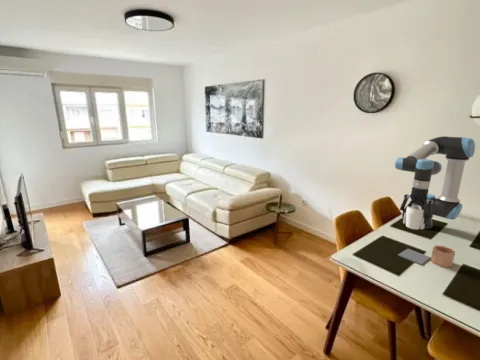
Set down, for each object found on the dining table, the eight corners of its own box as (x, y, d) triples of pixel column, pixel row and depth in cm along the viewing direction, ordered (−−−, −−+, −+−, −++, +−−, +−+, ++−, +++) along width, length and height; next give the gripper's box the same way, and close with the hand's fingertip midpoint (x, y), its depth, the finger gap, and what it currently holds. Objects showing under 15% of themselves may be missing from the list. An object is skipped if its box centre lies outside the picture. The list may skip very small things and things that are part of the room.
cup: (425, 231, 143) (429, 210, 140) (406, 229, 145) (410, 209, 142) (418, 224, 152) (422, 205, 149) (401, 223, 154) (404, 204, 151)
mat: (407, 249, 156) (407, 248, 156) (430, 258, 147) (430, 257, 146) (397, 255, 150) (398, 254, 149) (421, 265, 140) (421, 264, 140)
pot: (435, 256, 149) (437, 244, 147) (453, 263, 142) (457, 250, 140) (428, 261, 144) (431, 248, 142) (447, 269, 137) (450, 255, 135)
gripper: (396, 184, 150) (390, 220, 155) (440, 193, 132) (431, 234, 138) (403, 182, 154) (397, 218, 159) (446, 191, 136) (437, 231, 142)
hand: (413, 225), depth 148 cm, fingers closed on cup, 9 cm apart
